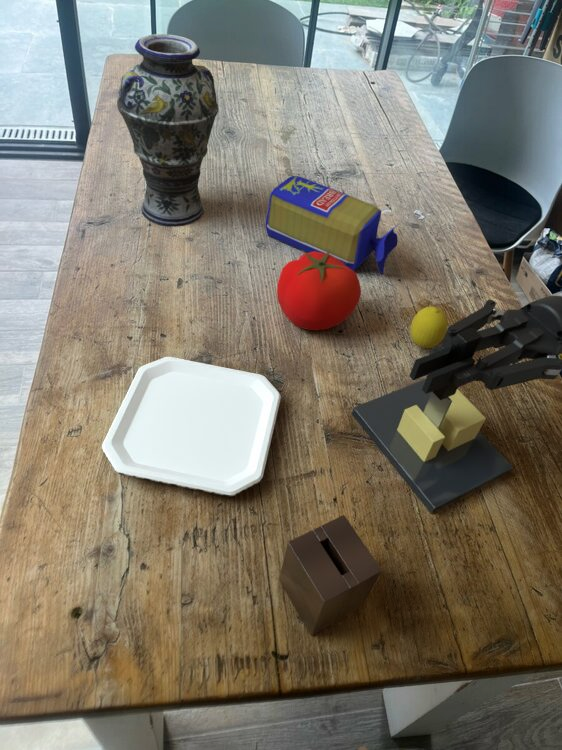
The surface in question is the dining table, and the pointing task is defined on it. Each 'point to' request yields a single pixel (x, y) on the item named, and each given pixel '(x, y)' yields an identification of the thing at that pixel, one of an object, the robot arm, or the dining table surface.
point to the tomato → (317, 291)
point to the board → (440, 474)
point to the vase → (169, 125)
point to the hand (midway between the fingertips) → (421, 376)
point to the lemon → (428, 327)
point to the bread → (327, 223)
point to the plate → (194, 426)
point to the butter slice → (420, 433)
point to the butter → (460, 422)
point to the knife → (439, 398)
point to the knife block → (328, 574)
